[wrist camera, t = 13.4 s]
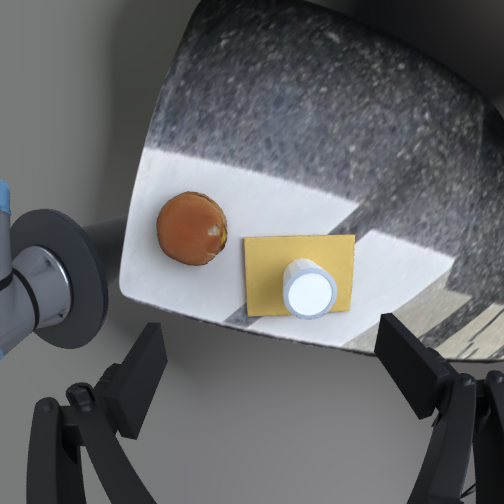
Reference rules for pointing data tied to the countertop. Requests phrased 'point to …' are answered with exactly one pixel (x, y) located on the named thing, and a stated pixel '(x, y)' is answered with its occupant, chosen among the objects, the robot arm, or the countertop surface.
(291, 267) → the shot glass
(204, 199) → the burger
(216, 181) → the countertop surface
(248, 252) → the cloth
